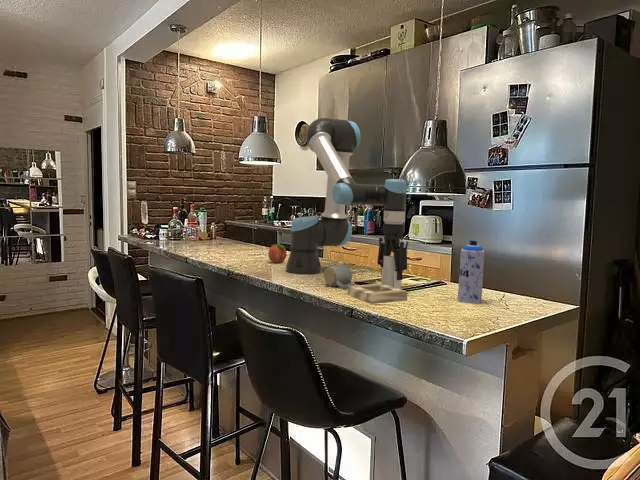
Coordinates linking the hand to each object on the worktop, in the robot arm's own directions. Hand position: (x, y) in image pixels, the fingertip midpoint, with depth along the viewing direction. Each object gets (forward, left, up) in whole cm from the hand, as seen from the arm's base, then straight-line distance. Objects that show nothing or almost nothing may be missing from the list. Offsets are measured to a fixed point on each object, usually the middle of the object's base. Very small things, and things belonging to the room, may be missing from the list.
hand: (390, 286), depth 170 cm
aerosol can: (+24, +14, -1) cm, 28 cm away
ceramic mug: (-12, -14, -1) cm, 19 cm away
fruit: (-70, -13, -1) cm, 71 cm away
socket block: (+8, -12, -1) cm, 14 cm away
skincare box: (0, 0, -1) cm, 1 cm away
